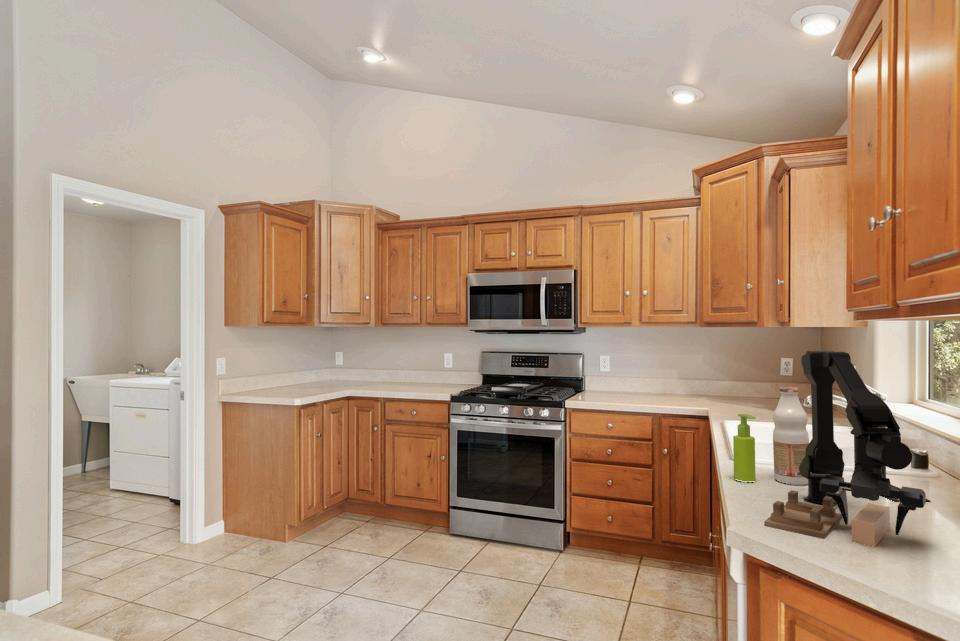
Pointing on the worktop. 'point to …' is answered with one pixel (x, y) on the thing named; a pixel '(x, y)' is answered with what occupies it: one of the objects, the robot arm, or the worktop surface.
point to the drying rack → (804, 516)
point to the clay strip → (870, 524)
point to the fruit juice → (789, 437)
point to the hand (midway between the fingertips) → (871, 529)
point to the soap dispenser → (744, 451)
